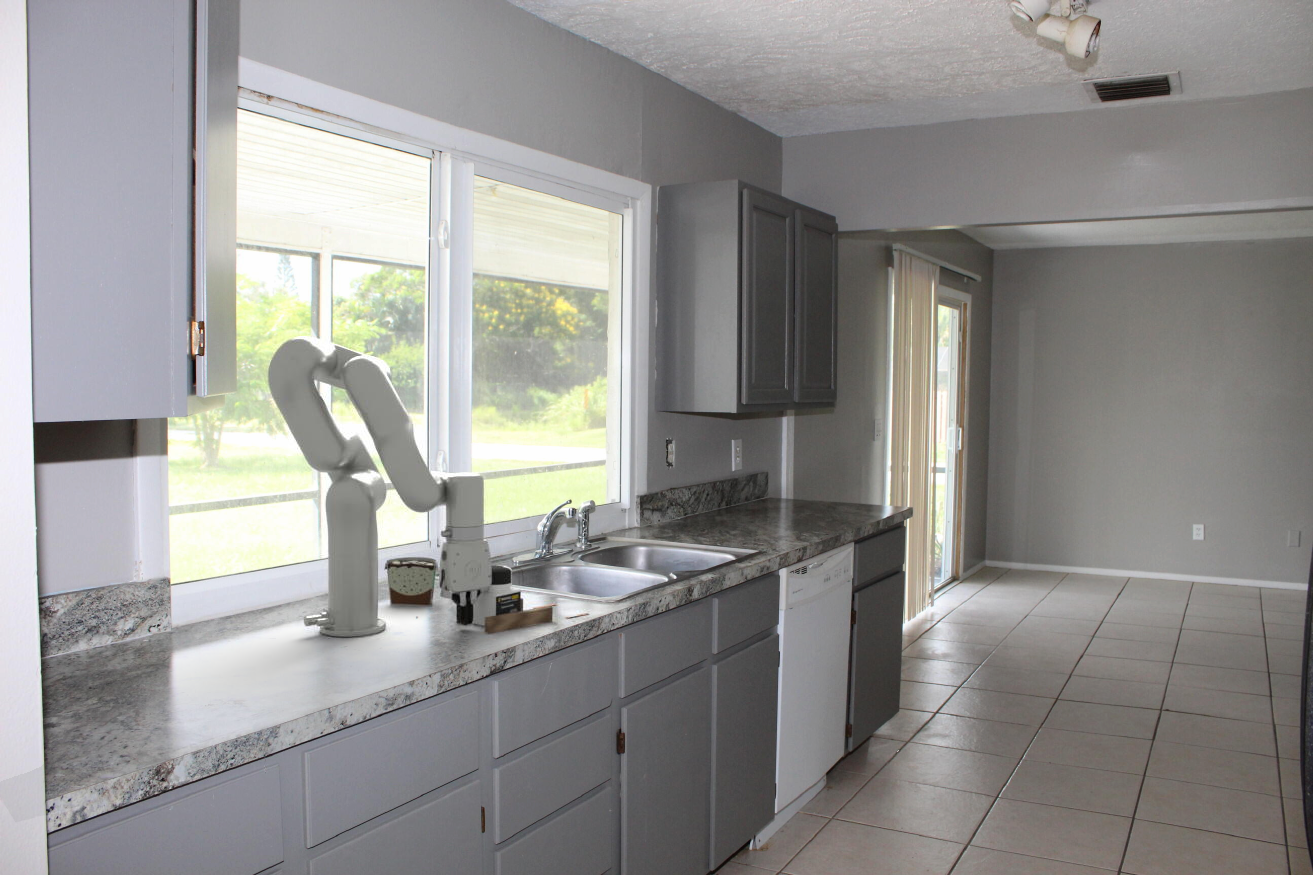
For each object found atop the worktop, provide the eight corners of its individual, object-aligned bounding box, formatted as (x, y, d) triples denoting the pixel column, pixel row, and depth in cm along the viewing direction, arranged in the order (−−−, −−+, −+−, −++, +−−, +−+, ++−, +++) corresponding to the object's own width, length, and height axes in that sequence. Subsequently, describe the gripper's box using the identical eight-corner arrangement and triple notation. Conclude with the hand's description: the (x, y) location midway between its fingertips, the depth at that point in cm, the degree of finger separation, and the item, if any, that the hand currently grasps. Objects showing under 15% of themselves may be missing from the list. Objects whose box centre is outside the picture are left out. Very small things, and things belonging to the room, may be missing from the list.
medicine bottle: (496, 629, 194) (496, 571, 193) (472, 623, 198) (472, 566, 198) (521, 623, 200) (521, 566, 199) (497, 617, 204) (498, 562, 203)
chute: (488, 633, 190) (489, 618, 190) (456, 622, 199) (456, 608, 199) (552, 621, 202) (552, 607, 201) (519, 611, 210) (519, 597, 210)
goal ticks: (567, 618, 204) (567, 617, 204) (533, 608, 213) (533, 607, 213) (589, 614, 208) (589, 613, 208) (554, 604, 217) (554, 603, 217)
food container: (446, 600, 219) (446, 557, 219) (437, 606, 213) (437, 562, 213) (394, 598, 221) (394, 555, 220) (384, 604, 214) (384, 560, 214)
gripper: (442, 539, 185) (442, 633, 185) (506, 532, 195) (506, 620, 196) (422, 535, 190) (422, 626, 191) (485, 528, 200) (485, 614, 201)
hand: (464, 623), depth 193 cm, fingers closed
